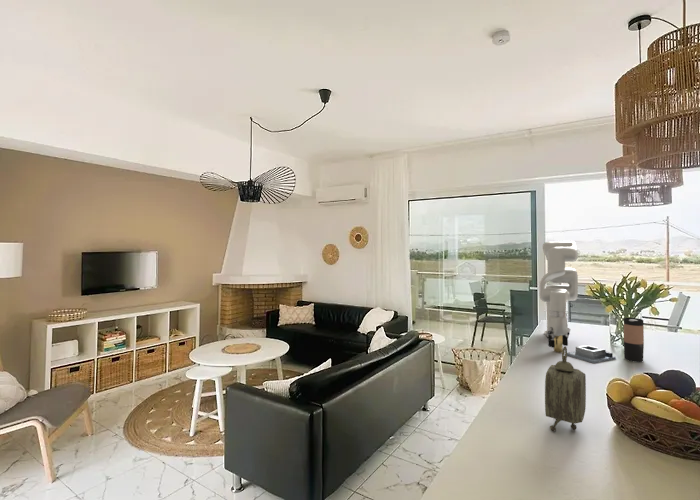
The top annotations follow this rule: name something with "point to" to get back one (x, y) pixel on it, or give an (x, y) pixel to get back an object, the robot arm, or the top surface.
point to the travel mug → (633, 339)
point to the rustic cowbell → (565, 393)
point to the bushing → (558, 344)
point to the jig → (591, 354)
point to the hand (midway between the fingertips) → (558, 346)
